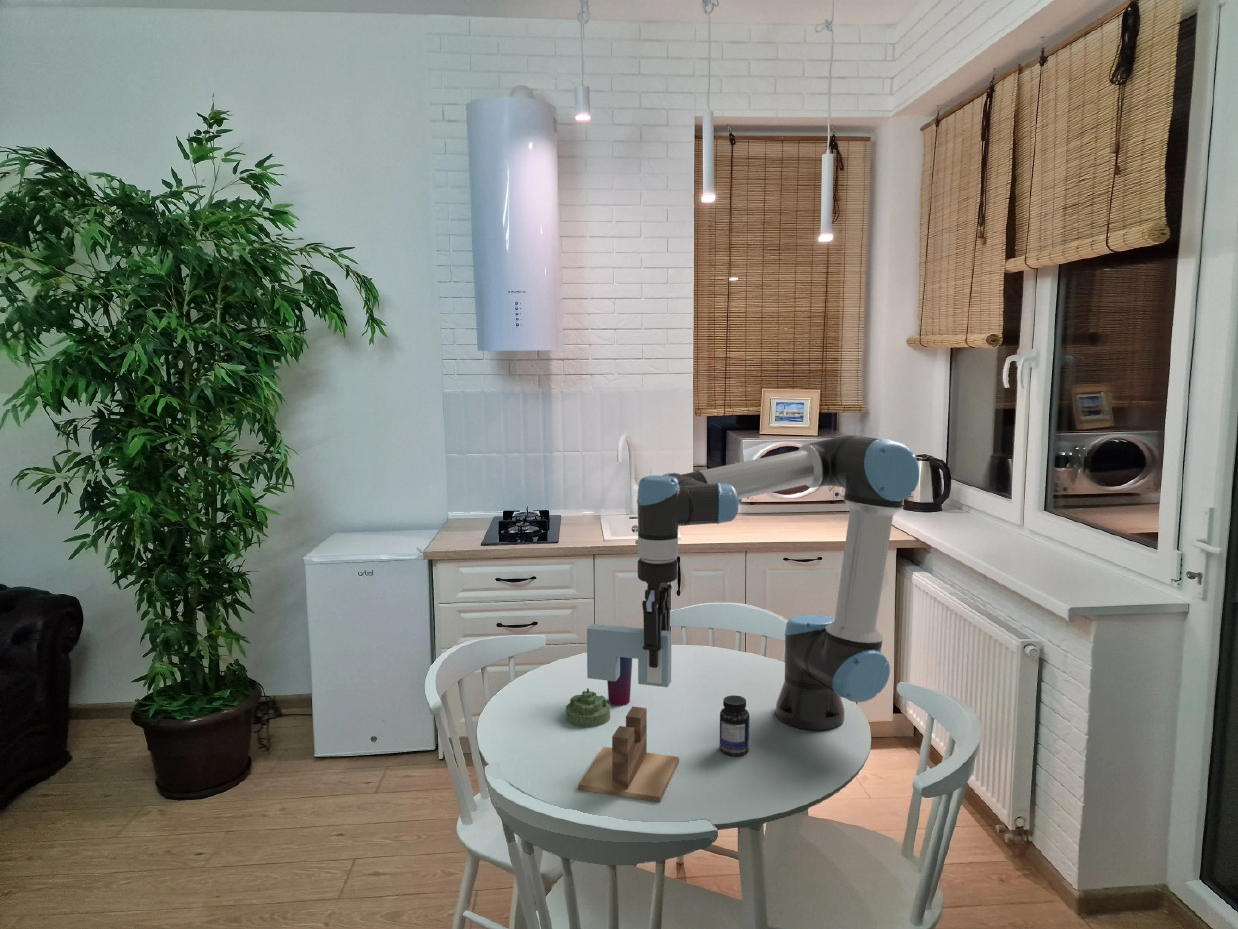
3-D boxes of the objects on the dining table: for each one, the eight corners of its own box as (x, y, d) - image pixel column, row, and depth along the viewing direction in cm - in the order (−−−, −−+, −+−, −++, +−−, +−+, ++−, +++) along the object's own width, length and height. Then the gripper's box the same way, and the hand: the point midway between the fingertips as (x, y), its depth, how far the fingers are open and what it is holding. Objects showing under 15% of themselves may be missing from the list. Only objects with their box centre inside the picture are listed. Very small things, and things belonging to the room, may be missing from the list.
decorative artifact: (616, 724, 187) (601, 706, 196) (616, 694, 186) (601, 677, 195) (573, 731, 183) (560, 712, 193) (573, 700, 182) (560, 683, 192)
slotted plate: (671, 681, 160) (671, 631, 159) (667, 687, 158) (667, 636, 156) (592, 672, 165) (591, 623, 164) (587, 678, 162) (586, 628, 161)
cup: (630, 708, 194) (630, 646, 192) (602, 706, 196) (601, 644, 194) (635, 696, 201) (635, 636, 199) (608, 694, 202) (607, 634, 200)
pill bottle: (729, 740, 178) (730, 691, 177) (754, 749, 174) (755, 698, 173) (713, 751, 173) (714, 700, 172) (739, 760, 170) (739, 708, 168)
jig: (678, 761, 169) (679, 709, 168) (660, 802, 154) (660, 745, 152) (603, 751, 174) (603, 700, 172) (578, 789, 158) (577, 734, 157)
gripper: (649, 547, 165) (648, 661, 168) (626, 567, 150) (626, 692, 153) (686, 550, 163) (685, 665, 166) (667, 570, 148) (666, 697, 151)
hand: (656, 678), depth 160 cm, fingers closed on slotted plate, 3 cm apart
